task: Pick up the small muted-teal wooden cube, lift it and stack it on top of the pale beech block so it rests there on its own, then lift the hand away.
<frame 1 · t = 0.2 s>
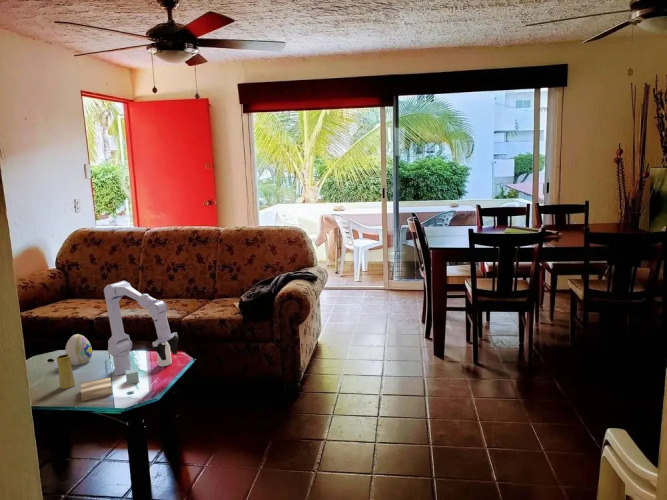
hand: (169, 356, 236), 11 cm above the table, tool pointing down, fingers open, 7 cm apart
decorative egg: (80, 362, 268), on the table
beech block: (97, 393, 228), on the table
teal cube: (132, 381, 238), on the table
vase: (67, 386, 237), on the table
can: (165, 364, 257), on the table
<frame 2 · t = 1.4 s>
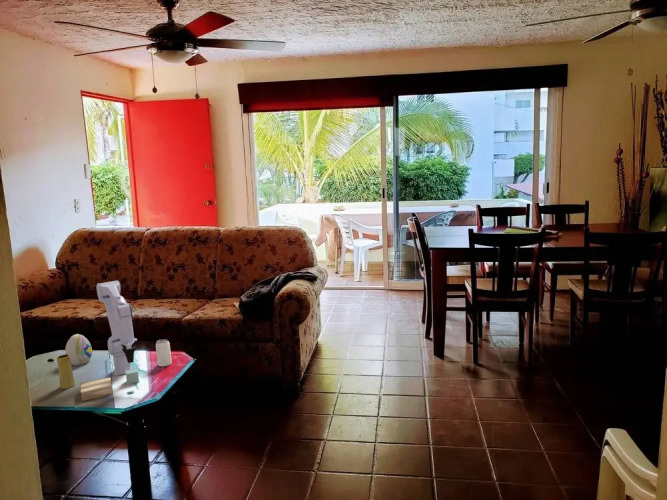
hand: (130, 359, 236), 10 cm above the table, tool pointing down, fingers open, 7 cm apart
nothing on the table moved.
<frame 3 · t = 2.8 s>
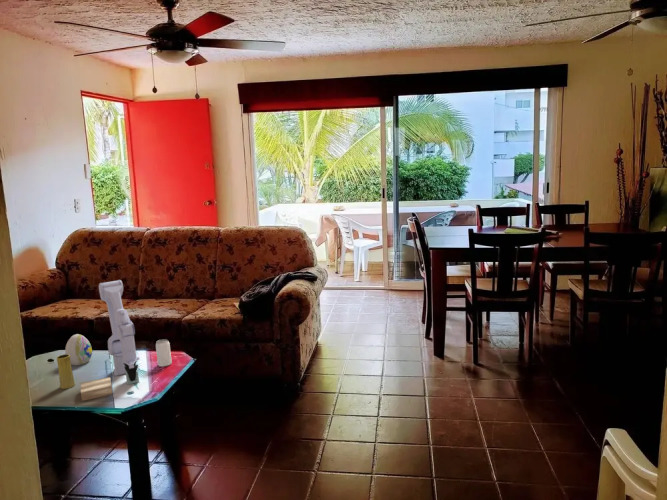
hand: (132, 378, 238), 1 cm above the table, tool pointing down, fingers closed on teal cube, 5 cm apart
teal cube: (132, 381, 238), on the table, touching gripper
everything else where it was.
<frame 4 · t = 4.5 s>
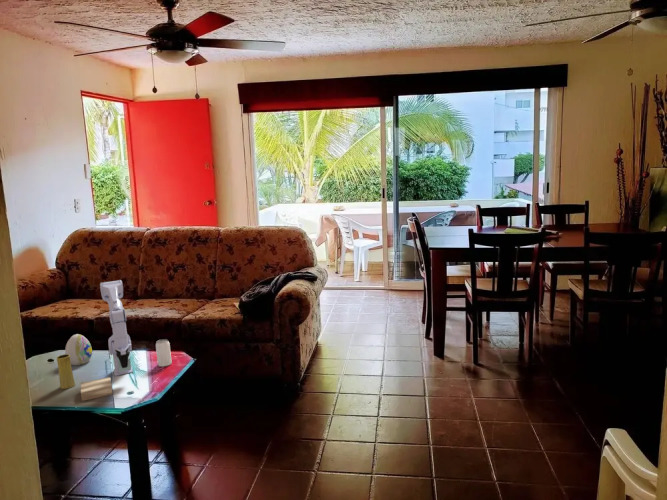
hand: (124, 365, 235), 8 cm above the table, tool pointing down, fingers closed on teal cube, 5 cm apart
teal cube: (125, 368, 235), point 7 cm above the table, touching gripper
everything else where it was.
when the fingers open (6 cm above the table, at t = 6.2 s): teal cube drops 1 cm, resting on beech block.
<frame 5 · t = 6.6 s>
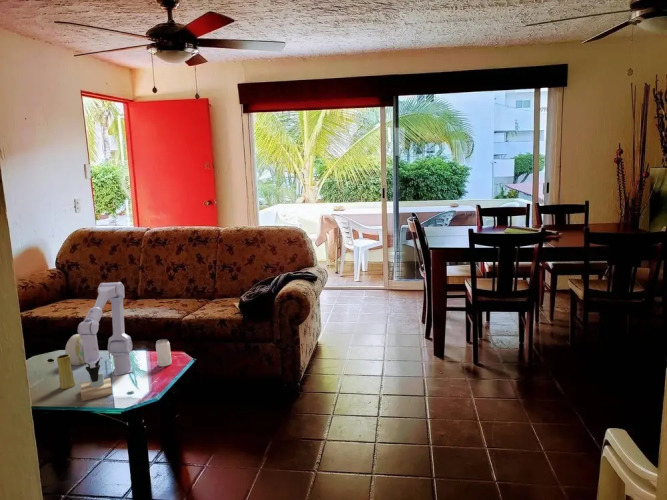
hand: (95, 378, 227), 6 cm above the table, tool pointing down, fingers open, 7 cm apart
beech block: (97, 393, 228), on the table, touching teal cube
teal cube: (97, 384, 228), point 4 cm above the table, touching beech block
everything else where it was.
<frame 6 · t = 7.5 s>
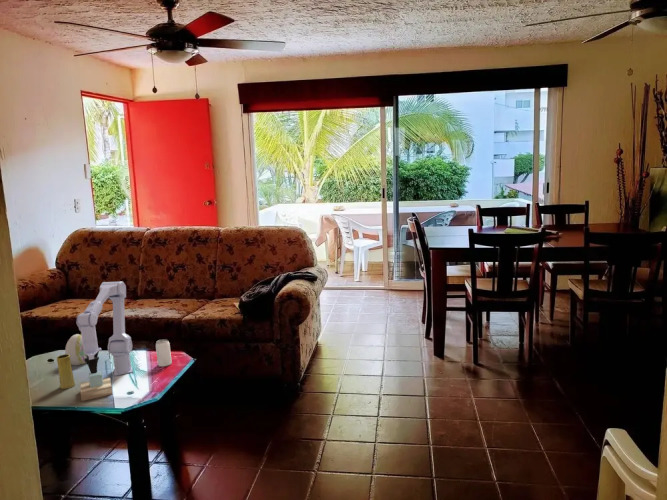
hand: (94, 370, 226), 10 cm above the table, tool pointing down, fingers open, 7 cm apart
nothing on the table moved.
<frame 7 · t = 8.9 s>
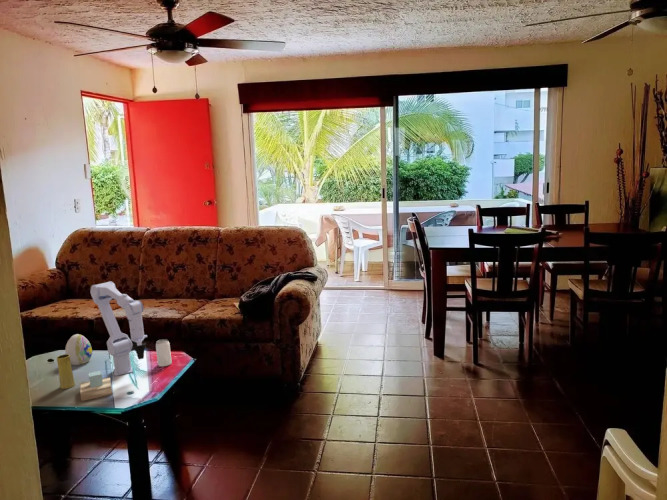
hand: (140, 356, 240), 10 cm above the table, tool pointing down, fingers open, 7 cm apart
beech block: (96, 393, 228), on the table
teal cube: (96, 384, 228), point 3 cm above the table
everything else where it was.
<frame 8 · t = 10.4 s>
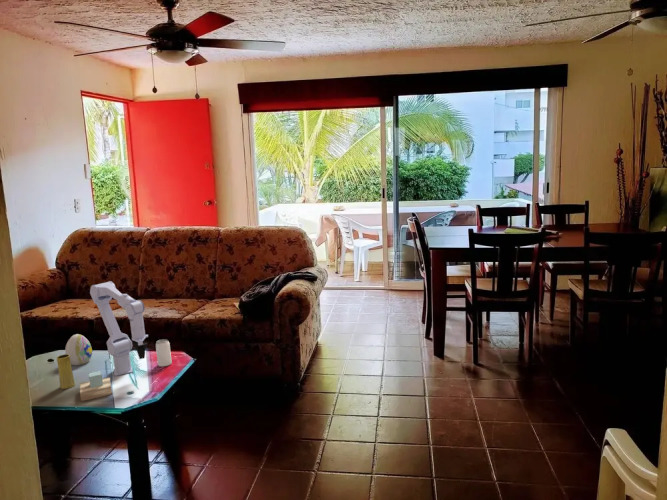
hand: (141, 356, 240), 10 cm above the table, tool pointing down, fingers open, 7 cm apart
beech block: (96, 393, 228), on the table, touching teal cube
teal cube: (96, 384, 227), point 3 cm above the table, touching beech block
everything else where it was.
at the end: teal cube inside the target area on the beech block (0.5 cm from its centre), point 4.0 cm above the beech block's base; teal cube tilted 0°; the gripper is holding nothing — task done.
